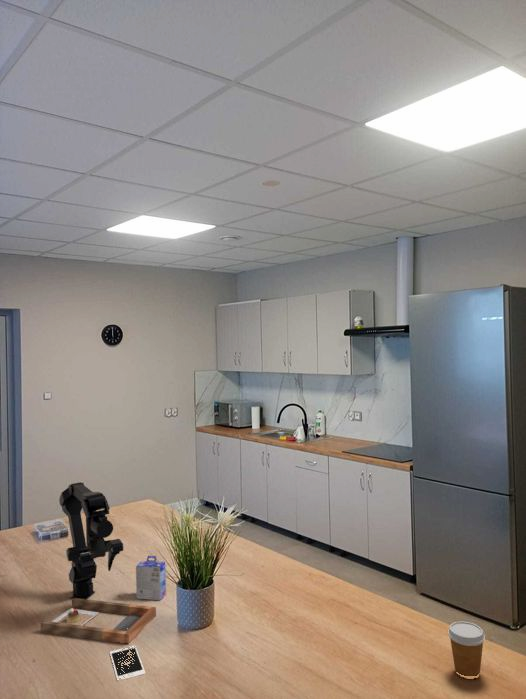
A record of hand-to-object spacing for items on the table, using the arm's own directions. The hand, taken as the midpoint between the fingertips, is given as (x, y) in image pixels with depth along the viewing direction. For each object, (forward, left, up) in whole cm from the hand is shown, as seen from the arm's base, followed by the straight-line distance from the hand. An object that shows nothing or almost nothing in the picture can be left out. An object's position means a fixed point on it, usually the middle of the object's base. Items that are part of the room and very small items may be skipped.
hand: (95, 573), depth 191 cm
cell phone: (+27, -26, -14) cm, 40 cm away
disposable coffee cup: (+122, -9, -13) cm, 123 cm away
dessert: (-4, -8, -14) cm, 16 cm away
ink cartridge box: (+14, +14, -13) cm, 24 cm away
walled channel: (+6, -8, -13) cm, 17 cm away
